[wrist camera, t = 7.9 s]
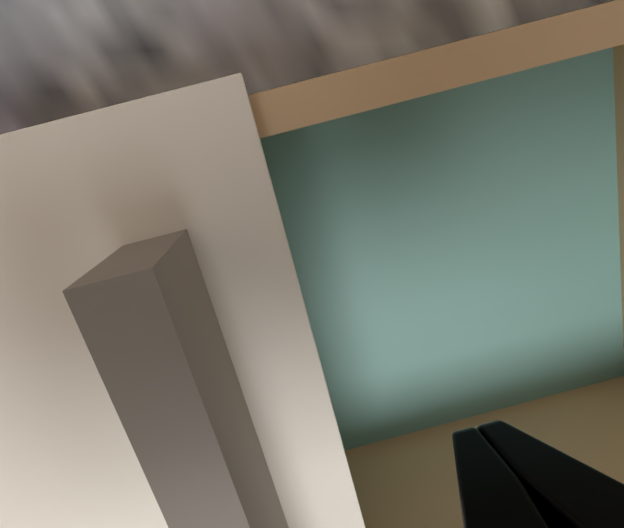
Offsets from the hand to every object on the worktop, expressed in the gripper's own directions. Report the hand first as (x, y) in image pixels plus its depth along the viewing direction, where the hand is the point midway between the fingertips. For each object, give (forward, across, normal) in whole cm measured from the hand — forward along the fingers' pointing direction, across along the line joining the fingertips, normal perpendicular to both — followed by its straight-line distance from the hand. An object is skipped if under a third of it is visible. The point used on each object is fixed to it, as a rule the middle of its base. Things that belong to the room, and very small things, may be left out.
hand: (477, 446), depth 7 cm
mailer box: (+8, 0, 0) cm, 8 cm away
